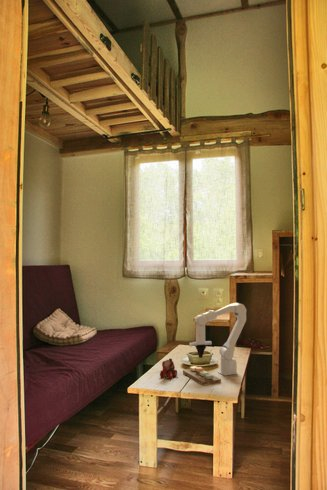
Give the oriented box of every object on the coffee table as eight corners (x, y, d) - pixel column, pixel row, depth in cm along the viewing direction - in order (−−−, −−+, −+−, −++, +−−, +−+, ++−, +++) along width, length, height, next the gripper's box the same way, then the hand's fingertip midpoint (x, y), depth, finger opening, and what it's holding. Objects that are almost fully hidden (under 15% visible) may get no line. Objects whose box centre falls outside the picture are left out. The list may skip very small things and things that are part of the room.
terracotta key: (200, 372, 241) (200, 366, 242) (203, 374, 238) (203, 368, 238) (194, 373, 240) (194, 367, 240) (197, 375, 237) (197, 369, 237)
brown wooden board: (200, 371, 250) (200, 368, 250) (221, 382, 227) (221, 379, 227) (183, 373, 245) (183, 370, 245) (202, 385, 222) (202, 381, 222)
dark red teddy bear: (178, 375, 242) (179, 358, 242) (168, 380, 231) (168, 362, 232) (169, 373, 245) (169, 356, 246) (158, 378, 235) (158, 360, 235)
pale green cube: (205, 377, 236) (205, 371, 236) (208, 379, 232) (208, 372, 233) (199, 377, 234) (199, 371, 235) (202, 379, 231) (202, 373, 231)
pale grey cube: (210, 380, 230) (210, 373, 231) (213, 381, 227) (213, 375, 227) (204, 380, 229) (204, 374, 229) (207, 382, 225) (207, 376, 226)
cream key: (195, 372, 247) (195, 366, 247) (198, 373, 243) (198, 367, 244) (190, 372, 245) (190, 366, 246) (193, 374, 242) (193, 368, 242)
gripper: (207, 333, 251) (207, 354, 250) (187, 334, 245) (187, 356, 245) (213, 334, 244) (213, 357, 244) (192, 336, 239) (192, 359, 238)
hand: (200, 357), depth 244 cm, fingers closed
